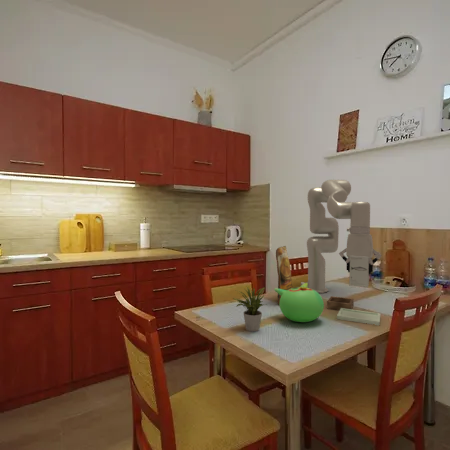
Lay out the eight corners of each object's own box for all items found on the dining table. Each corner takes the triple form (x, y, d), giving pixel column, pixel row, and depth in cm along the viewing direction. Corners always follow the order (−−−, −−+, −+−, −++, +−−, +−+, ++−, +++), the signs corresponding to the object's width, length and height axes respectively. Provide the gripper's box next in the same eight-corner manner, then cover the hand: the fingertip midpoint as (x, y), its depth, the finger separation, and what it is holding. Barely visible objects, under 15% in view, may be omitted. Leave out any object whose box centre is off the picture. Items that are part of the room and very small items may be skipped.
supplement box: (348, 285, 127) (349, 255, 127) (350, 283, 133) (351, 254, 133) (368, 287, 123) (368, 256, 123) (369, 285, 130) (369, 255, 130)
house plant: (249, 318, 127) (249, 280, 127) (278, 326, 119) (278, 285, 118) (227, 328, 116) (227, 286, 116) (258, 337, 108) (258, 292, 107)
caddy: (327, 308, 142) (327, 301, 142) (330, 303, 151) (331, 296, 151) (351, 312, 137) (351, 304, 137) (353, 306, 146) (353, 298, 146)
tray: (336, 318, 127) (336, 315, 127) (340, 311, 138) (340, 307, 138) (379, 325, 120) (379, 321, 120) (380, 316, 130) (380, 313, 130)
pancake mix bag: (270, 305, 147) (271, 247, 147) (284, 296, 164) (285, 244, 163) (284, 307, 144) (284, 248, 143) (297, 298, 160) (297, 245, 159)
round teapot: (290, 329, 115) (290, 291, 115) (272, 315, 131) (272, 282, 131) (331, 325, 120) (332, 288, 120) (308, 312, 136) (309, 279, 136)
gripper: (336, 231, 129) (336, 272, 129) (383, 232, 120) (382, 276, 121) (339, 230, 135) (339, 269, 136) (383, 231, 127) (382, 273, 127)
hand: (359, 272), depth 128 cm, fingers closed on supplement box, 7 cm apart
